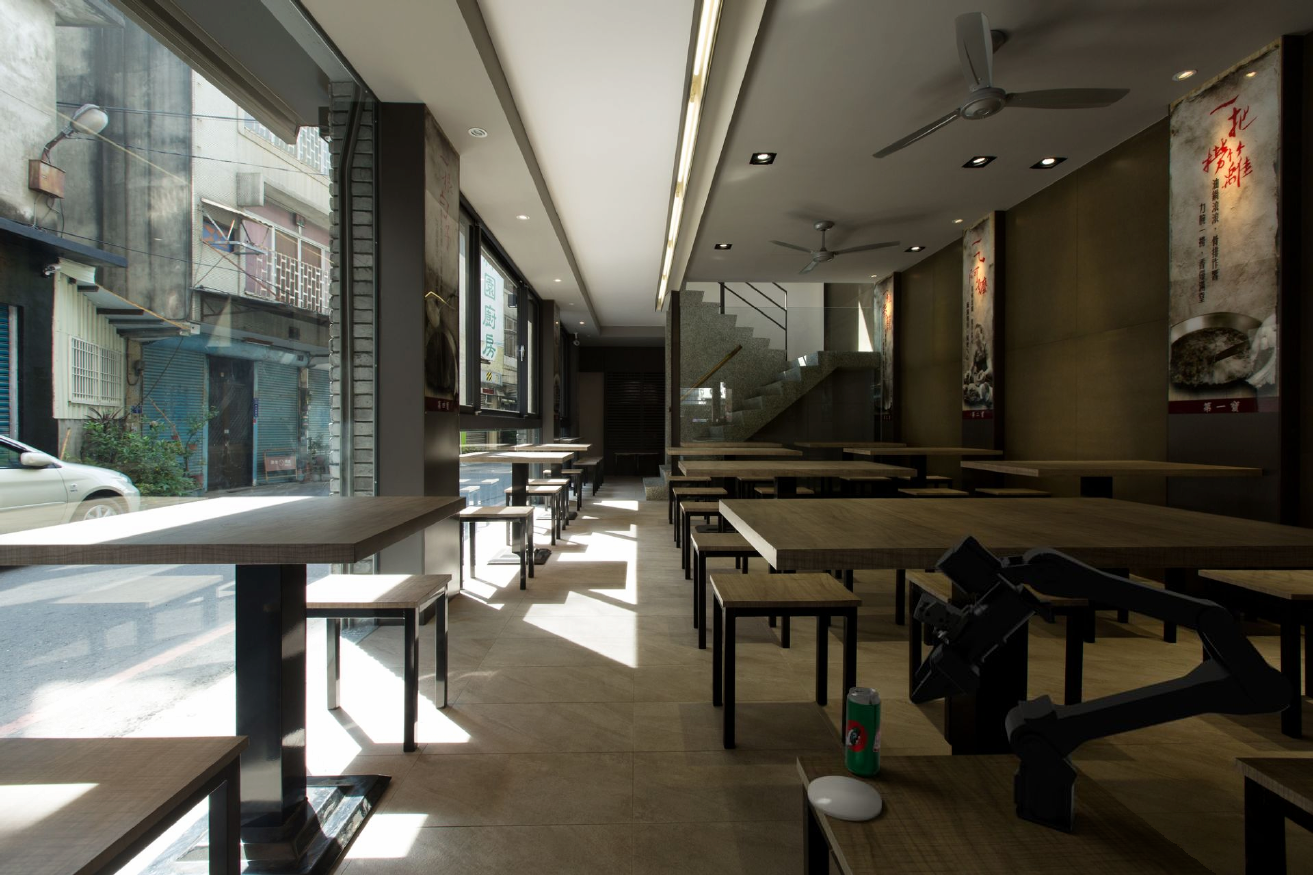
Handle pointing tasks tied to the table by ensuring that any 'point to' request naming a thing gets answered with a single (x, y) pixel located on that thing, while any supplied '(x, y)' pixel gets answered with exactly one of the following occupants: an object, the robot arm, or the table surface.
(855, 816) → the coaster
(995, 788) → the table surface
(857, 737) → the soda can
